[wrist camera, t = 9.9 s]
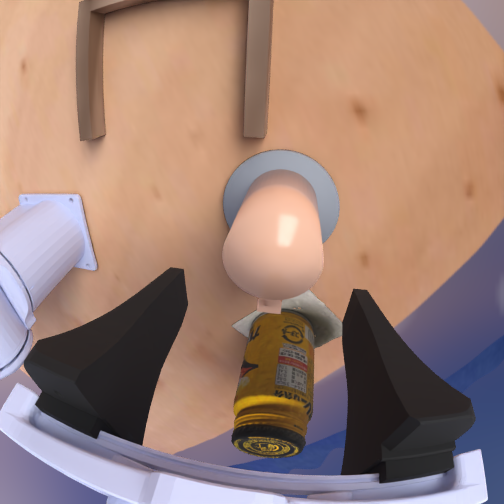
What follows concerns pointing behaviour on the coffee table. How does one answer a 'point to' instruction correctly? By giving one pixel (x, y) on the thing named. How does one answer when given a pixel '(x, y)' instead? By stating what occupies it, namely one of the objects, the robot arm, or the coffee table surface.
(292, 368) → the condiment
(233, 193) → the coaster
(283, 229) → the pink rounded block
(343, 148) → the coffee table surface
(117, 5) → the holder
